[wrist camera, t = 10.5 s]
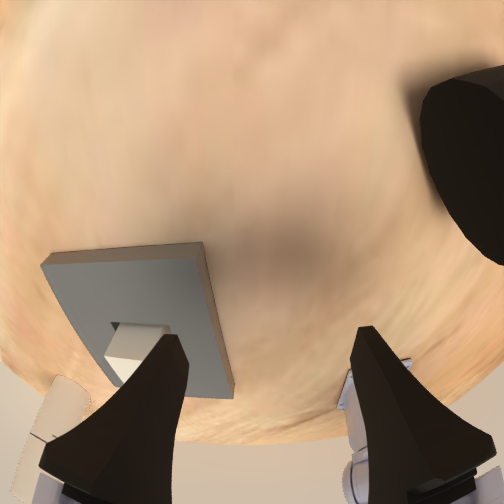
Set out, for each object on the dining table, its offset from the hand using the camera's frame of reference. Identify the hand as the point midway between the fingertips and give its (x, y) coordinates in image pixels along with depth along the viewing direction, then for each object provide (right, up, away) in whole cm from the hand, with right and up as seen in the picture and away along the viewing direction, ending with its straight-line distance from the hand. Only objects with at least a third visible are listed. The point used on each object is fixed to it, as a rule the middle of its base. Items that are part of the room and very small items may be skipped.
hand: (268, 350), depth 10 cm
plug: (-10, -3, +14) cm, 17 cm away
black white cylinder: (+26, +17, 0) cm, 31 cm away
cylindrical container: (-31, -19, +24) cm, 44 cm away
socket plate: (-11, -4, +14) cm, 18 cm away
